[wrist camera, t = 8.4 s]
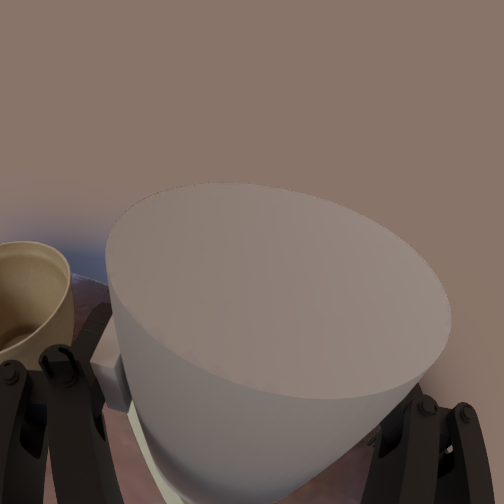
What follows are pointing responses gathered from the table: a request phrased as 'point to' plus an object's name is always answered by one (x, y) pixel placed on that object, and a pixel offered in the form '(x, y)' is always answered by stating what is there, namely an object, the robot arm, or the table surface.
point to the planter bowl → (33, 301)
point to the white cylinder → (264, 333)
